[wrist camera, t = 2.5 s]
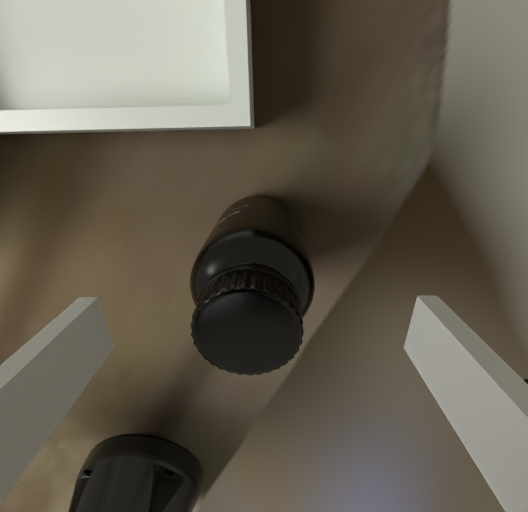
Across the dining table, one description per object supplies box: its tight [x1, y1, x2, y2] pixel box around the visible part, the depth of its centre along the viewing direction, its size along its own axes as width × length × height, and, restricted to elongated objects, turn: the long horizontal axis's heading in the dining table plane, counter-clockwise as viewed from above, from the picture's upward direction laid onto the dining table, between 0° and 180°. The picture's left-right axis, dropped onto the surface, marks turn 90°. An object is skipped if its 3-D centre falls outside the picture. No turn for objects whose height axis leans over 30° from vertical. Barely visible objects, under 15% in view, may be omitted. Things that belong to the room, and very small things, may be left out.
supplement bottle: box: [190, 196, 315, 375], centre depth 16 cm, size 7×7×12 cm
